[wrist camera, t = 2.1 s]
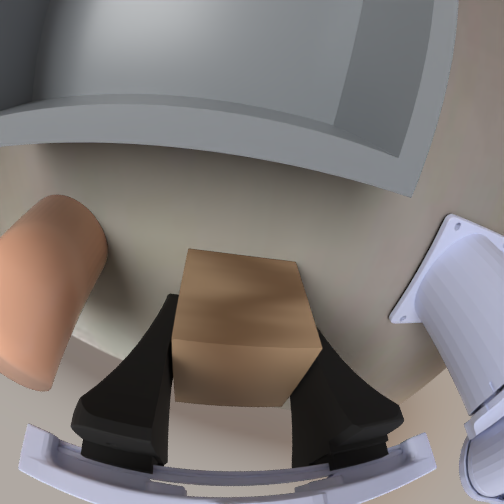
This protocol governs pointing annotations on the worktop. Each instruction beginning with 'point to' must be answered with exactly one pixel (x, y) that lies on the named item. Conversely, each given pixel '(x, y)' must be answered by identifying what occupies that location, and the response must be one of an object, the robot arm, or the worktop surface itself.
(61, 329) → the terracotta cylinder
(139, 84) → the gray tote
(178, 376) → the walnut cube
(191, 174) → the worktop surface
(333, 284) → the worktop surface
